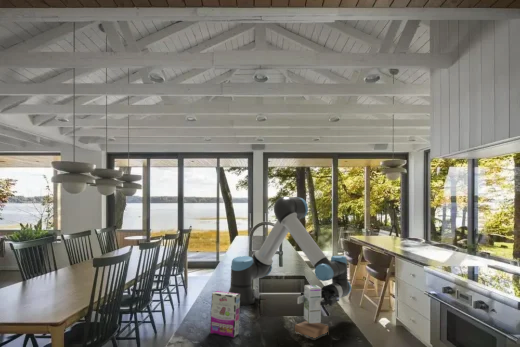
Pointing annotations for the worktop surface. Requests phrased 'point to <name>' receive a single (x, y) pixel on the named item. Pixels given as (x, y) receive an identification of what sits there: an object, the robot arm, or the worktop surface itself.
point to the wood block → (311, 329)
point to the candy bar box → (225, 313)
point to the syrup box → (312, 303)
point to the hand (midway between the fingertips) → (306, 302)
